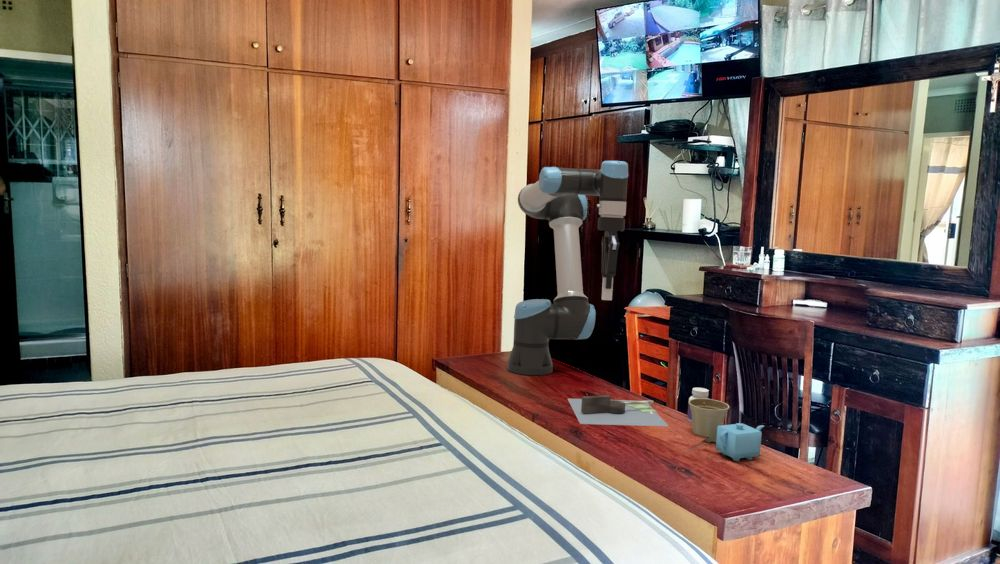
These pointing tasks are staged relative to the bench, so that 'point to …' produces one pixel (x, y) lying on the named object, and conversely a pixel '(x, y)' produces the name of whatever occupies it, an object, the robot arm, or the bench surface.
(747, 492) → the bench surface
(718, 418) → the flower pot
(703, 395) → the pill bottle
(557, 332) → the robot arm
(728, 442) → the teapot
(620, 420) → the tuner board
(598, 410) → the dark long piece
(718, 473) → the bench surface
